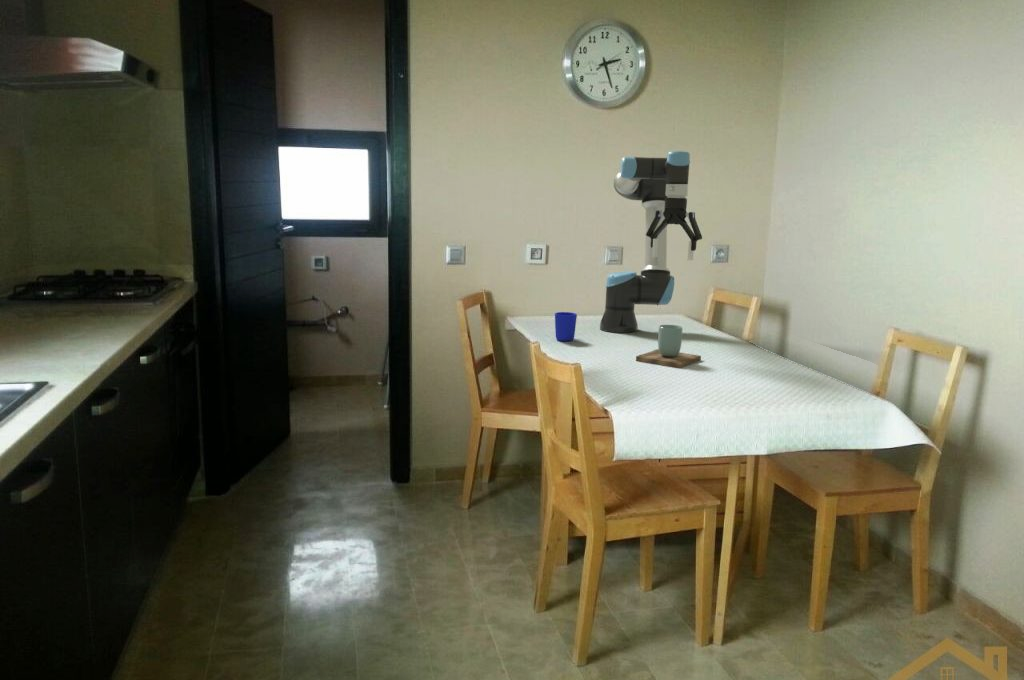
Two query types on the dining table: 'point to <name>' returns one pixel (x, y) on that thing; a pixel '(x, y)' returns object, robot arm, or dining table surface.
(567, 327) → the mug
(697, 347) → the dining table surface
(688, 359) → the board
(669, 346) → the cup
